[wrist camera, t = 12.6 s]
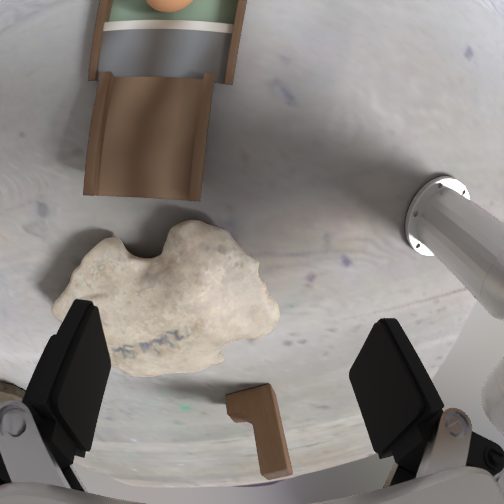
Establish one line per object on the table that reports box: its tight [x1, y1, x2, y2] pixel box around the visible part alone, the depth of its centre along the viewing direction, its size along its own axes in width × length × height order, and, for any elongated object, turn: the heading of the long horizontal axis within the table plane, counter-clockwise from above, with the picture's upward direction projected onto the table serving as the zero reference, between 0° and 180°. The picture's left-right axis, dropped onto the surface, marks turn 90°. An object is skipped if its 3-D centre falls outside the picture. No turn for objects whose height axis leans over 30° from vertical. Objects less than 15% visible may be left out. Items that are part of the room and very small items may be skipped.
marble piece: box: [0, 381, 26, 404], centre depth 51 cm, size 17×15×4 cm
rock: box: [51, 220, 279, 377], centre depth 38 cm, size 8×25×30 cm
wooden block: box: [226, 384, 293, 480], centre depth 47 cm, size 9×4×18 cm, turn 107°
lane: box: [83, 0, 247, 201], centre depth 23 cm, size 15×25×7 cm, turn 171°
